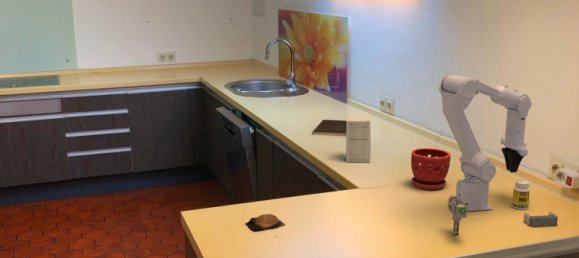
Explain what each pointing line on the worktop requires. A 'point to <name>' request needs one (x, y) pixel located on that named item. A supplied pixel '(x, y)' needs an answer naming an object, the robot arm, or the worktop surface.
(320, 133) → the hardcover book
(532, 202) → the worktop surface
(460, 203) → the mechanical component
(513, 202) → the supplement bottle
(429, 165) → the plant pot
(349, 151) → the beige miniature cabinet
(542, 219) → the jig
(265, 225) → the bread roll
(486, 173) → the robot arm
